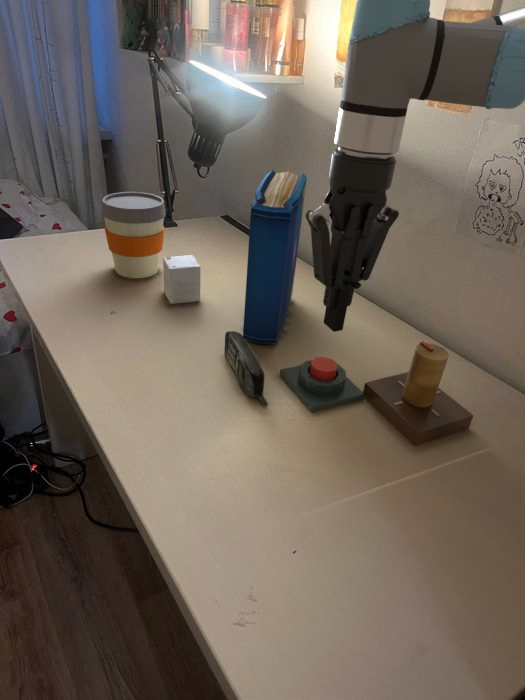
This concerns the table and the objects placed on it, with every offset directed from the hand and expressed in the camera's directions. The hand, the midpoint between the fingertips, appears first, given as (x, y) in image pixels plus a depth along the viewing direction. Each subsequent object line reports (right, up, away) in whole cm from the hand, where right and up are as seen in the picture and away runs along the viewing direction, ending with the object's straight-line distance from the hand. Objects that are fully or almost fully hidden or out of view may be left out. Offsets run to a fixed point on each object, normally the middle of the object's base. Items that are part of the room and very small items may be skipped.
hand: (332, 326), depth 72 cm
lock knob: (+12, -10, +1) cm, 16 cm away
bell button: (-1, -7, +4) cm, 8 cm away
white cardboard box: (-26, +7, +28) cm, 39 cm away
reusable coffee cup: (-37, +14, +38) cm, 55 cm away
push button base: (-1, -9, +6) cm, 11 cm away
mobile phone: (-13, -8, +6) cm, 16 cm away
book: (-9, +2, +23) cm, 25 cm away
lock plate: (+12, -12, +3) cm, 18 cm away
